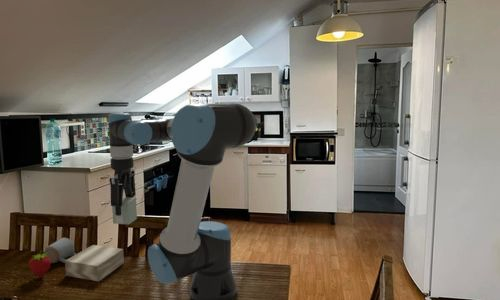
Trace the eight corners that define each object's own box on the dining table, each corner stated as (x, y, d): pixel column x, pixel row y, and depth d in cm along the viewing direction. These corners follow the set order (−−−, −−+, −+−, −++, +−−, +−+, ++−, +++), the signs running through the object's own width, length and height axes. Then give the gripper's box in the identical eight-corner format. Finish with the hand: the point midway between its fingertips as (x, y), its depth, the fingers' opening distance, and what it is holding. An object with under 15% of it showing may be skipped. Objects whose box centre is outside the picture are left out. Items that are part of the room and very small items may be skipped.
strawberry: (40, 271, 125) (37, 246, 123) (56, 274, 123) (54, 248, 121) (25, 280, 119) (22, 253, 118) (42, 283, 117) (40, 255, 116)
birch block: (124, 263, 132) (123, 249, 131) (98, 282, 118) (97, 266, 118) (93, 259, 136) (92, 244, 135) (66, 276, 122) (64, 260, 121)
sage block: (136, 218, 126) (136, 197, 124) (129, 224, 120) (128, 202, 119) (121, 217, 127) (120, 196, 125) (113, 223, 121) (111, 201, 119)
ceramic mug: (43, 263, 132) (41, 244, 130) (60, 253, 139) (59, 236, 138) (65, 267, 129) (64, 248, 128) (81, 257, 137) (80, 239, 135)
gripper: (125, 152, 129) (127, 210, 133) (96, 162, 111) (100, 229, 114) (143, 153, 128) (146, 211, 132) (117, 162, 110) (121, 230, 113)
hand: (124, 219), depth 123 cm, fingers closed on sage block, 6 cm apart
